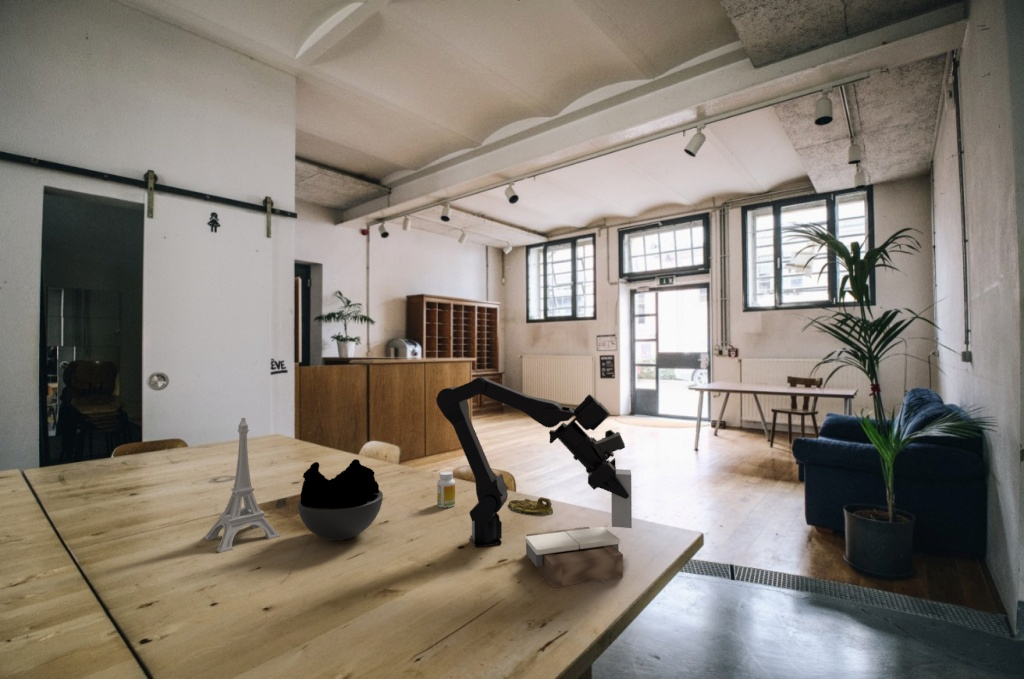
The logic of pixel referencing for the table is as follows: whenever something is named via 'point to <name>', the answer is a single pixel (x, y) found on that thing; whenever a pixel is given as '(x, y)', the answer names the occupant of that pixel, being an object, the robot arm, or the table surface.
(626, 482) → the grey stone block
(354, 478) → the coal bowl
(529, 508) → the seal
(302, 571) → the table surface
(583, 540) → the panel
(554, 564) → the box
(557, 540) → the near trapdoor leaf
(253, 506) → the eiffel tower
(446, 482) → the supplement bottle
